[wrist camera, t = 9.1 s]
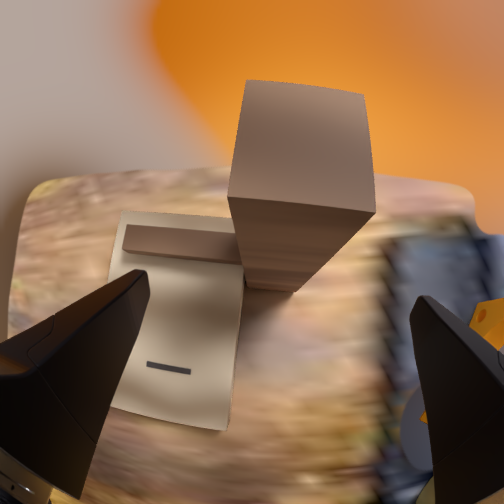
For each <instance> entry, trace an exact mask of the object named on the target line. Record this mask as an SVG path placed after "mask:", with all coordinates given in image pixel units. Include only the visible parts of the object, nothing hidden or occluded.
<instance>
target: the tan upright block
mask: <svg viewBox="0 0 504 504" xmlns="http://www.w3.org/2000/svg"><path fill="white" fill-rule="evenodd" d="M227 198H228V203H229V207H230V212H231V216H232V221H233V225H234V230H235V233H227V232H216V231H205V230H193V229H181V228H169V227H157V226H144V225H131V224H127V226H126V230H125V235H124V240H123V244H122V250H124V251H126V252H127V253H131V254H139V255H148V256H158V257H167V258H176V259H185V260H195V261H205V262H214V263H224V264H234V265H243V269H244V274H245V278H246V282H247V287H248V288H257V289H267V290H277V291H288V292H296V291H297V290H299V289H300V288H301V287H302V286H303V285H304V284H305V283H306V282H307V281H308V280H309V279H310V278H311V277H312V276H313V275H314V274H315V273H316V272H317V271H318V270H319V269H321V268H322V267H323V266H324V265H325V264H326V263H327V262H328V261H329V260H330V259H331V258H332V257H333V256H334V255H335V254H336V253H337V252H338V251H339V250H340V249H341V248H342V247H343V246H344V245H345V244H346V243H347V242H348V241H349V240H350V239H351V238H352V237H353V236H354V235H355V234H356V233H357V232H358V231H359V230H360V229H361V228H362V227H363V226H364V225H365V224H366V223H367V221H368V220H369V219H370V218H371V217H372V216H373V215H374V214H375V213H376V202H375V186H374V173H373V163H372V153H371V143H370V135H369V126H368V119H367V112H366V106H365V100H364V95H363V94H359V93H354V92H348V91H343V90H337V89H331V88H324V87H318V86H311V85H303V84H294V83H283V82H273V81H260V80H246V84H245V90H244V96H243V101H242V107H241V113H240V119H239V124H238V130H237V136H236V142H235V148H234V155H233V161H232V167H231V174H230V180H229V187H228V194H227Z"/></svg>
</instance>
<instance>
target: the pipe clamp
mask: <svg viewBox="0 0 504 504" xmlns="http://www.w3.org/2000/svg"><path fill="white" fill-rule="evenodd" d="M469 327H471V328H472V329H473V330H474V331H476V332H477V333H478V334H479V335H480V336H482V337H483V338H484V339H485V340H486V341H488V342H489V343H490V344H491V345H492V346H494V347H495V348H496V349H497V351H498V350H499V349H500V348H501V347H502V346H503V345H504V298H500V299H496V300H491V301H486V302H481V303H478V304H477V307H476V309H475V312H474V315H473V317H472V320H471V322H470V325H469ZM419 420H421V421H423V422H424V423H426V424H428V423H427V417H426V410H425V411H424V412H423V414H422V415H421V417H420V418H419Z"/></svg>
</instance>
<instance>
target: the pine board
mask: <svg viewBox="0 0 504 504" xmlns="http://www.w3.org/2000/svg"><path fill="white" fill-rule="evenodd" d="M127 224H131V225H144V226H157V227H169V228H181V229H193V230H205V231H216V232H227V233H235V230H234V225H233V221H232V218H223V217H211V216H198V215H185V214H171V213H156V212H140V211H123V210H122V213H121V217H120V221H119V225H118V230H117V234H116V239H115V244H114V249H113V254H112V259H111V264H110V270H109V276H108V282H107V284H108V283H110V282H112V281H113V280H115V279H117V278H119V277H121V276H122V275H124V274H126V273H128V272H130V271H132V270H133V269H140V270H145V271H146V272H147V274H148V279H149V285H150V299H149V302H148V305H147V308H146V311H145V315H144V318H143V321H142V325H141V328H140V331H139V335H138V337H137V340H136V342H135V345H134V347H133V349H132V352H131V354H130V357H129V359H128V362H127V364H126V367H125V369H124V372H123V374H122V377H121V379H120V382H119V384H118V387H117V389H116V392H115V395H114V397H113V400H112V403H111V405H110V406H111V407H115V408H118V409H122V410H125V411H129V412H132V413H136V414H140V415H144V416H148V417H152V418H156V419H161V420H165V421H170V422H175V423H180V424H185V425H190V426H196V427H202V428H208V429H215V430H222V431H227V428H228V425H229V421H230V413H231V403H232V394H233V384H234V375H235V365H236V356H237V347H238V337H239V328H240V319H241V309H242V300H243V291H244V282H245V274H244V269H243V265H234V264H224V263H214V262H205V261H195V260H185V259H176V258H167V257H158V256H148V255H139V254H131V253H127V252H126V251H124V250H122V244H123V240H124V235H125V230H126V226H127Z"/></svg>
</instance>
